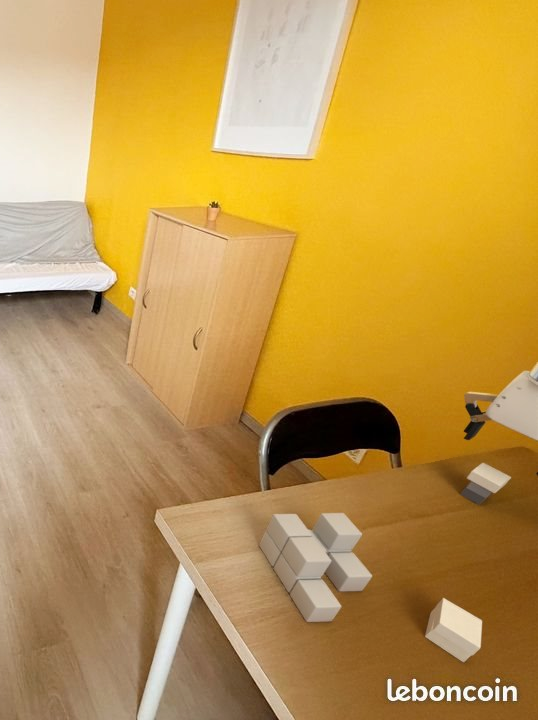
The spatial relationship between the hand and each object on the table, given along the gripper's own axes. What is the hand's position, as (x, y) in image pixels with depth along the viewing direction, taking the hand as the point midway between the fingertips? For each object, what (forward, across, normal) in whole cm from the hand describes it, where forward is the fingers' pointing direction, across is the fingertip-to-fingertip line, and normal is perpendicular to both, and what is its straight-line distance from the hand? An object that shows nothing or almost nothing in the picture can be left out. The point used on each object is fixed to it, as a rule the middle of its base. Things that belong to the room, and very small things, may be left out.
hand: (503, 454), depth 76 cm
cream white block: (+7, 0, 0) cm, 7 cm away
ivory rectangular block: (+11, -10, +37) cm, 40 cm away
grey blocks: (+11, 0, 0) cm, 11 cm away
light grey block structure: (+11, +4, +46) cm, 47 cm away
